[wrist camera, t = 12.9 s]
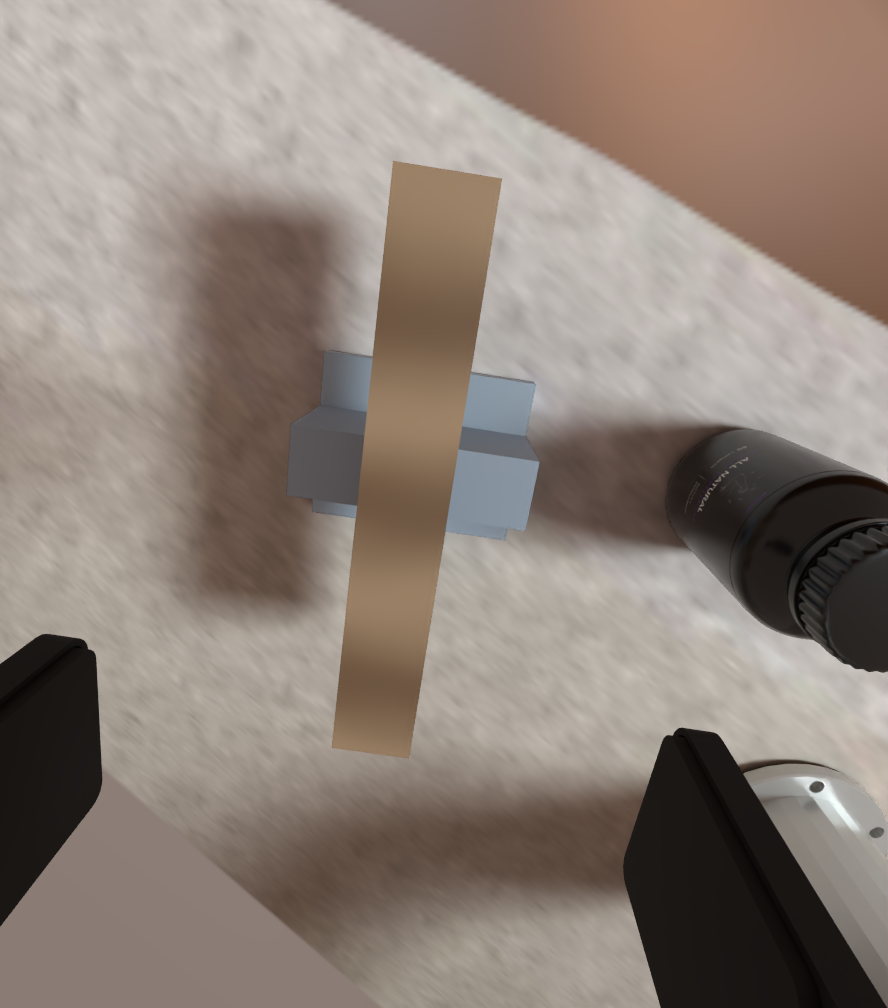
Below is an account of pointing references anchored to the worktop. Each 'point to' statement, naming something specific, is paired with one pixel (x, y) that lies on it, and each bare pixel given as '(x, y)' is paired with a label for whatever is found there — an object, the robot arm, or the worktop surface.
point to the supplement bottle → (790, 539)
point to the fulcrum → (480, 462)
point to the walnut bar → (411, 444)
